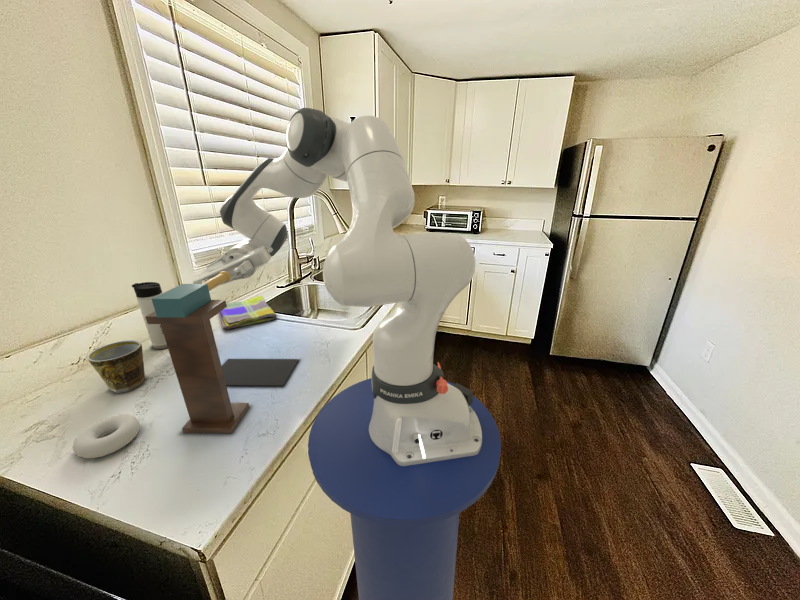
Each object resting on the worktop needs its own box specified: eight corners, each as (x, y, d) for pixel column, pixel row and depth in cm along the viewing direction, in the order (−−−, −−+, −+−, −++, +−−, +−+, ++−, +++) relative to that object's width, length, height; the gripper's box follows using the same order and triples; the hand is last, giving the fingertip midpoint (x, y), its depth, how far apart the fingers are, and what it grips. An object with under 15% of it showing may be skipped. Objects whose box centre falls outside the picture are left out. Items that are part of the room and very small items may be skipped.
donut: (136, 450, 62) (146, 417, 70) (130, 436, 61) (141, 404, 69) (67, 471, 58) (86, 433, 66) (59, 457, 57) (80, 420, 65)
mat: (298, 360, 91) (298, 359, 91) (283, 386, 80) (283, 385, 80) (228, 360, 92) (228, 358, 92) (203, 386, 81) (203, 384, 81)
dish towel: (264, 299, 136) (263, 293, 135) (278, 320, 117) (277, 313, 116) (217, 308, 127) (216, 302, 126) (224, 332, 108) (222, 325, 107)
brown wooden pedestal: (249, 406, 73) (225, 299, 64) (231, 433, 66) (201, 316, 56) (206, 406, 74) (175, 299, 64) (183, 432, 66) (145, 316, 57)
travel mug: (157, 340, 103) (138, 280, 96) (180, 338, 104) (163, 279, 97) (147, 350, 98) (126, 287, 90) (172, 348, 99) (152, 285, 91)
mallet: (239, 282, 74) (236, 267, 73) (185, 317, 56) (179, 298, 55) (218, 282, 74) (214, 267, 73) (156, 317, 56) (151, 298, 55)
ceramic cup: (113, 378, 84) (99, 344, 81) (158, 370, 88) (147, 337, 84) (88, 409, 73) (71, 372, 69) (140, 399, 76) (127, 362, 73)
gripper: (280, 256, 91) (266, 273, 78) (217, 285, 92) (193, 306, 80) (268, 236, 88) (251, 250, 75) (203, 266, 90) (176, 285, 77)
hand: (221, 279), depth 78 cm, fingers open, 8 cm apart
